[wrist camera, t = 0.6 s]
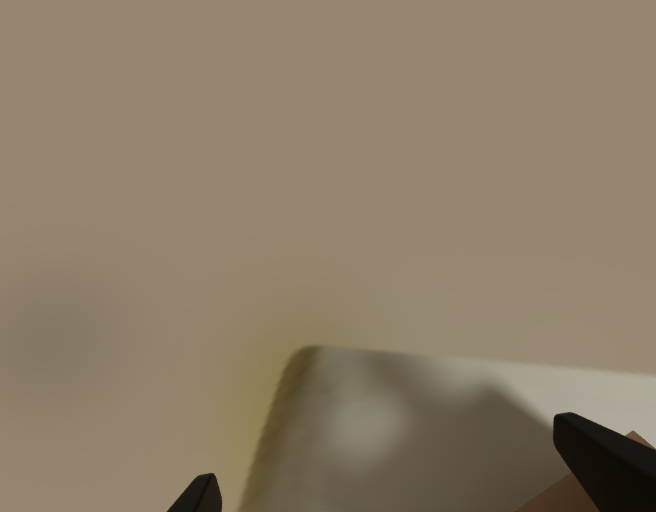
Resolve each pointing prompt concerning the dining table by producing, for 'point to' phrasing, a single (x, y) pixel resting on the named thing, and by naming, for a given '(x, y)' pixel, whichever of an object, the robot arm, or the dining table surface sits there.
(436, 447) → the dining table surface
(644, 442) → the walnut block
